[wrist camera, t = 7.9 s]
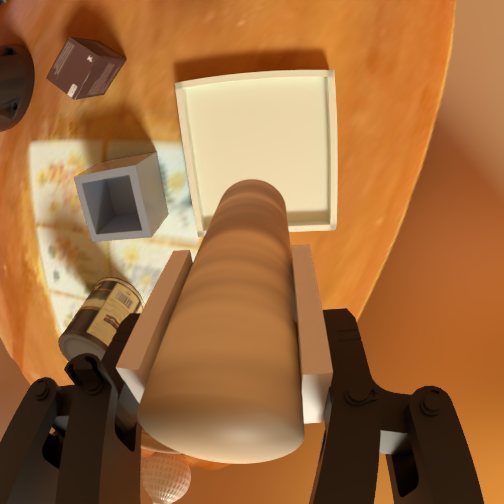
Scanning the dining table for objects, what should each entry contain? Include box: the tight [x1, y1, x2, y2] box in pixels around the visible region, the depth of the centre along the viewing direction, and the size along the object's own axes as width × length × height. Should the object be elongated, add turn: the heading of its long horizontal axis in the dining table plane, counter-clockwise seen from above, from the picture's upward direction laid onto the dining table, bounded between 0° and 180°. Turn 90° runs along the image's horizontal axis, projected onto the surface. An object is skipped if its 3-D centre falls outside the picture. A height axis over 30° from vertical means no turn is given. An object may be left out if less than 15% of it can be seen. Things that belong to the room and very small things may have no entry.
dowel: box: [137, 179, 304, 464], centre depth 13 cm, size 4×4×15 cm
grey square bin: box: [74, 152, 168, 242], centre depth 36 cm, size 9×9×7 cm
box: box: [46, 37, 126, 100], centre depth 28 cm, size 6×6×7 cm
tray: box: [175, 70, 338, 237], centre depth 35 cm, size 20×18×3 cm
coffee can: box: [59, 278, 144, 361], centre depth 44 cm, size 10×10×14 cm
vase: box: [142, 452, 191, 504], centre depth 76 cm, size 16×16×22 cm
